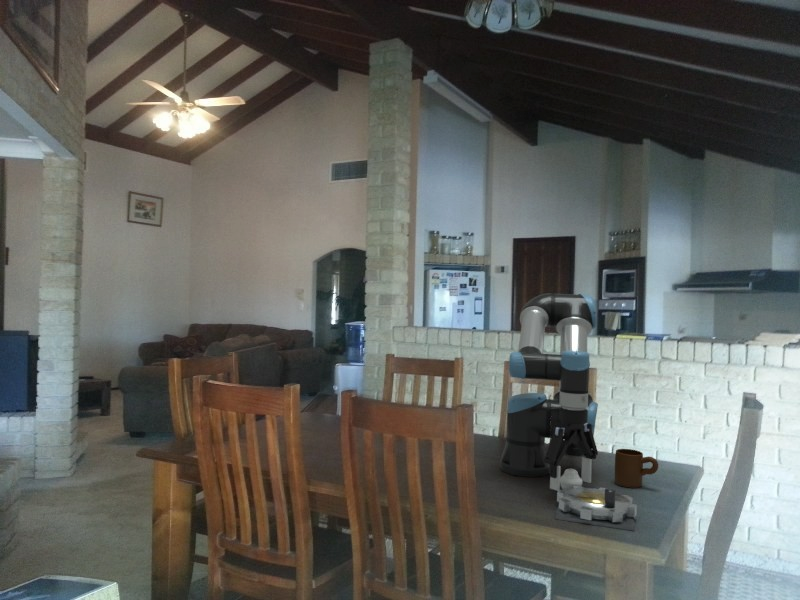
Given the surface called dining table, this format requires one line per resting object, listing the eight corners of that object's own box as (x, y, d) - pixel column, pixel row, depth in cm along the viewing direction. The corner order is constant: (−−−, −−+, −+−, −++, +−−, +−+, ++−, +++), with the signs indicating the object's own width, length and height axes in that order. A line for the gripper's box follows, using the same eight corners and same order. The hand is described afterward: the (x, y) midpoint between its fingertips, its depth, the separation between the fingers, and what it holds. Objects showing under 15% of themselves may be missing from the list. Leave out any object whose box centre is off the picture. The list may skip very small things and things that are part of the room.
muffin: (568, 498, 164) (569, 472, 164) (554, 491, 170) (555, 466, 169) (587, 496, 166) (587, 470, 166) (572, 488, 172) (573, 464, 172)
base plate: (555, 518, 149) (555, 514, 149) (562, 495, 166) (562, 491, 166) (634, 530, 143) (634, 526, 143) (633, 505, 160) (633, 501, 160)
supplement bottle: (587, 452, 211) (588, 418, 211) (581, 457, 205) (582, 421, 205) (567, 449, 215) (568, 415, 215) (561, 453, 209) (562, 418, 209)
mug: (661, 487, 175) (662, 455, 175) (653, 494, 170) (654, 460, 169) (619, 478, 183) (621, 447, 183) (610, 484, 177) (611, 451, 177)
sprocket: (581, 524, 143) (582, 497, 143) (543, 496, 161) (544, 472, 161) (652, 519, 147) (653, 493, 147) (608, 493, 166) (609, 469, 166)
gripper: (555, 414, 157) (552, 497, 157) (612, 406, 172) (609, 481, 172) (532, 409, 163) (529, 489, 163) (589, 402, 178) (587, 475, 178)
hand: (570, 485), depth 168 cm, fingers open, 13 cm apart
